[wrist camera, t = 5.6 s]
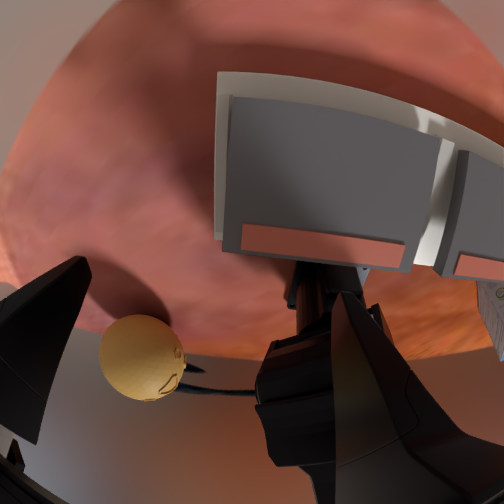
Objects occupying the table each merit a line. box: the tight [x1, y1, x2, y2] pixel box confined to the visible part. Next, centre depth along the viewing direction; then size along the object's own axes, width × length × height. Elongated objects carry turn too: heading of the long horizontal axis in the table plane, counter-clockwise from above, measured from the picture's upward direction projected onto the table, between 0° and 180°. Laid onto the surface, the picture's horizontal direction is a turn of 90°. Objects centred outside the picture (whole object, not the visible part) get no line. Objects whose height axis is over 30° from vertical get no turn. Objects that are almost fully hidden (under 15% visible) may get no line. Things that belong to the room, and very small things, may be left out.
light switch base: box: [214, 72, 504, 266], centre depth 16 cm, size 11×27×4 cm, turn 86°
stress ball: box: [99, 314, 186, 401], centre depth 27 cm, size 10×10×10 cm
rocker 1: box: [222, 97, 440, 273], centre depth 13 cm, size 8×11×2 cm
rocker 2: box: [433, 150, 504, 284], centre depth 13 cm, size 8×11×2 cm
